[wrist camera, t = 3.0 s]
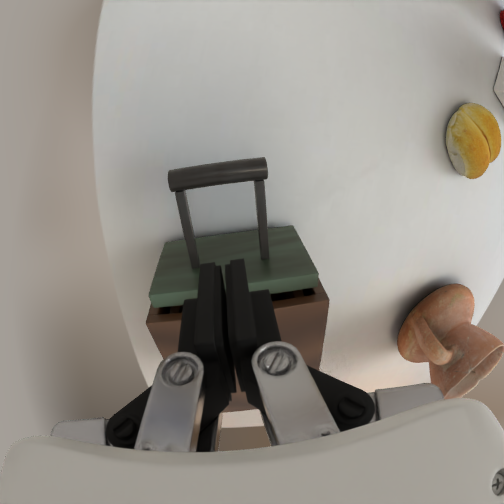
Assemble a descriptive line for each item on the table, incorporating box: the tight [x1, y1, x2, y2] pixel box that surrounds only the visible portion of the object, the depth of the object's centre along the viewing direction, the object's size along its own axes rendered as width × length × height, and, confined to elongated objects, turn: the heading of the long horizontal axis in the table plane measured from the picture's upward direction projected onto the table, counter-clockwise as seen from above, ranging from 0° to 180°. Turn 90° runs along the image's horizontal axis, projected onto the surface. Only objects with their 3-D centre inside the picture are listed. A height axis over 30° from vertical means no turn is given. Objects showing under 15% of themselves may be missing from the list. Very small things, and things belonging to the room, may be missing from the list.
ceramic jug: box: [397, 284, 504, 399], centre depth 29 cm, size 18×14×14 cm
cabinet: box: [146, 278, 329, 413], centre depth 25 cm, size 15×13×9 cm
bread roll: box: [446, 103, 501, 179], centre depth 19 cm, size 8×9×4 cm
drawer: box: [149, 157, 319, 314], centre depth 22 cm, size 21×11×7 cm, turn 5°
